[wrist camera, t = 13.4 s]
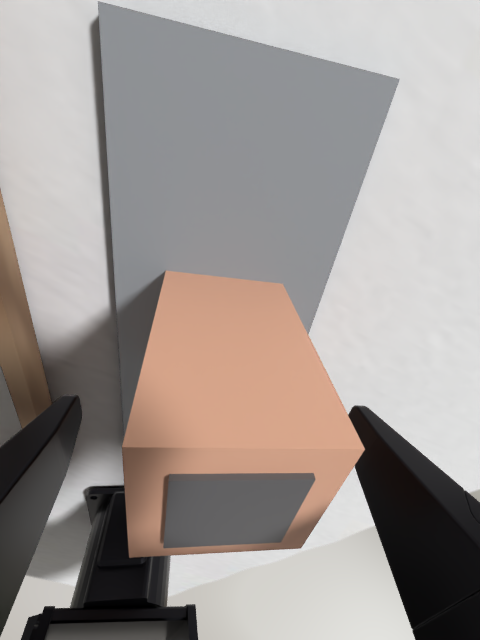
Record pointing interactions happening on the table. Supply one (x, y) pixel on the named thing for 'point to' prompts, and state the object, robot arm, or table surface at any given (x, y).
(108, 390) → the table surface
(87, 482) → the table surface
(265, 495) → the peach block
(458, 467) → the table surface
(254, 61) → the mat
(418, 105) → the table surface
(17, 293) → the organizer
